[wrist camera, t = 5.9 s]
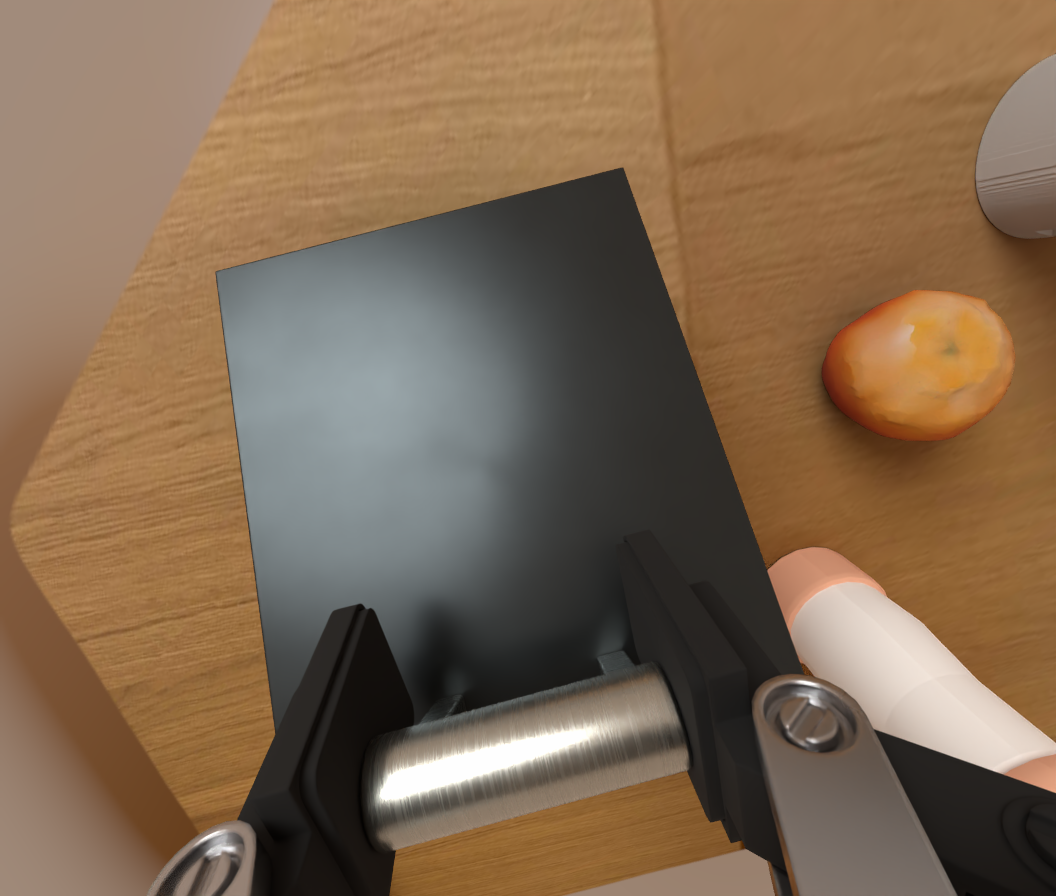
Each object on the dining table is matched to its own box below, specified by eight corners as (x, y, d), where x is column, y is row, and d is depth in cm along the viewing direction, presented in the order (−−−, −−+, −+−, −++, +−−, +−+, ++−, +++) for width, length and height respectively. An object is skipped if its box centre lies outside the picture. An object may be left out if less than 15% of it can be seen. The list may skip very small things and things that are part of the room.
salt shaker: (822, 641, 37) (1157, 989, 19) (737, 623, 35) (1009, 980, 17) (870, 558, 35) (1297, 859, 17) (781, 536, 33) (1141, 837, 15)
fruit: (852, 476, 31) (931, 462, 23) (777, 373, 32) (827, 327, 25) (972, 410, 30) (1096, 372, 22) (889, 308, 32) (978, 239, 24)
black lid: (800, 699, 12) (993, 810, 7) (306, 833, 12) (116, 1052, 7) (619, 185, 15) (656, -5, 10) (231, 285, 15) (64, 144, 10)
